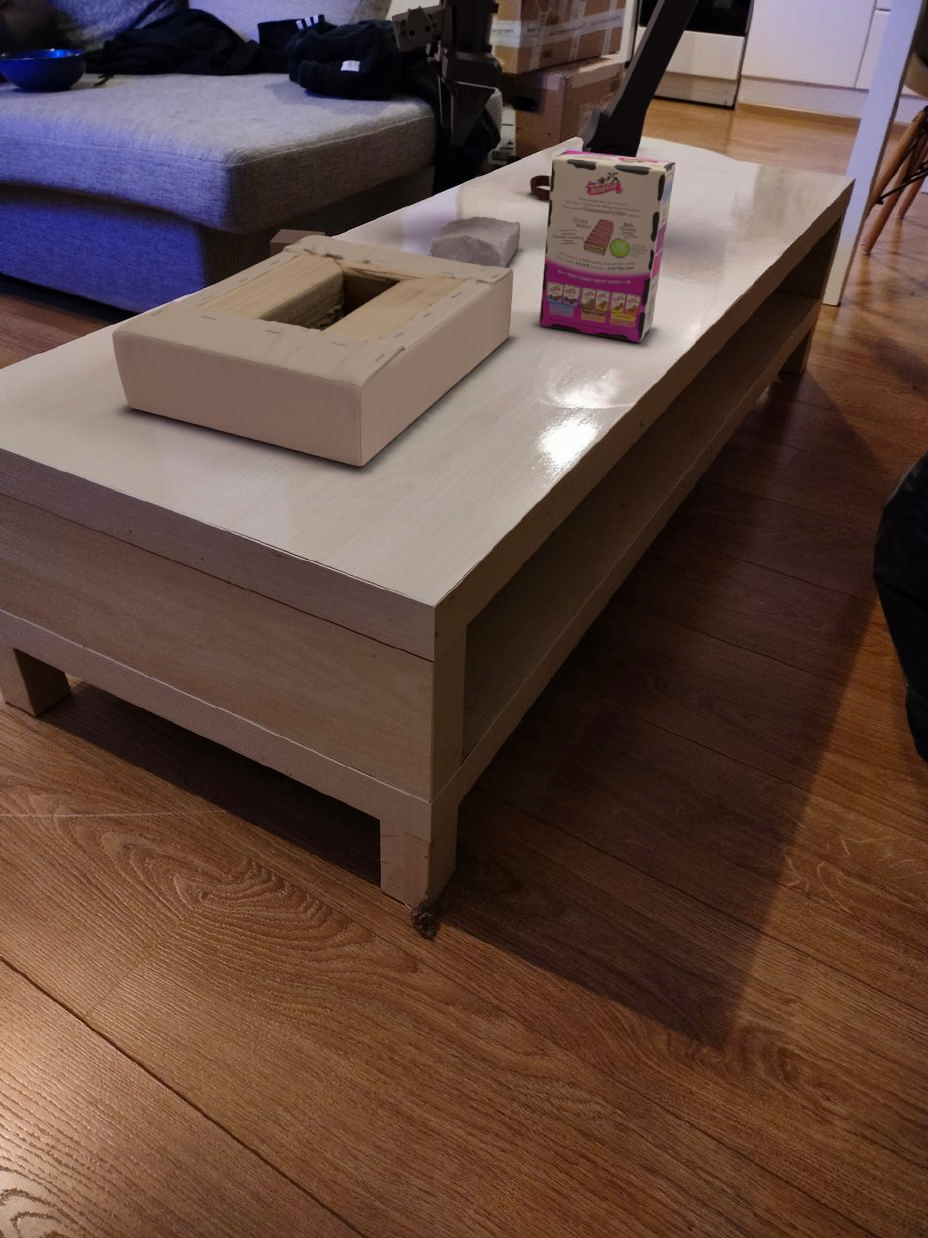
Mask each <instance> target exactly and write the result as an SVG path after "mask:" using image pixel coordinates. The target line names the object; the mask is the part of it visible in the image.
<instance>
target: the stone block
mask: <svg viewBox="0 0 928 1238" xmlns="http://www.w3.org/2000/svg"><path fill="white" fill-rule="evenodd" d="M520 239H521V222H520V221H515V222H514V221H507V220H503V219H497V218H495V217H487V216H482V217H481V216H473V217H469V218H460V219H455V220H452V221H448V222H447V223H446V224H445V226H442V227H441V228H440V229H439V230H438V231H437V234H436V235H435V237H434V238H432V240H431V243H430V253H431V257H437V258H442V259H448V260H454V261H459V262H464V263H471V264H476V265H481V266H497V267H503V268H507V266H508V265H509V262H510V261H511V259H512V258H513V257H514V254H515V253H516V252H517V249H518V247H519V245H520Z"/></svg>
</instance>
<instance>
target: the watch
mask: <svg viewBox="0 0 928 1238" xmlns="http://www.w3.org/2000/svg"><path fill="white" fill-rule="evenodd" d="M529 186H530V194H531V195H532V196H533V197H535V198H537V199H539V200H542V201H544V202H545V201H548V202H549V199H550V189H546V188H543V187H548V188H550V186H551V175H547V174H542V175H541V174H540V175H539V174H538V175H535V176H532V177H531V178H530V180H529Z"/></svg>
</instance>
